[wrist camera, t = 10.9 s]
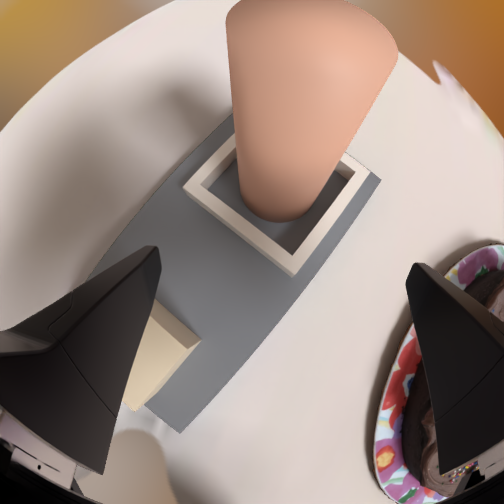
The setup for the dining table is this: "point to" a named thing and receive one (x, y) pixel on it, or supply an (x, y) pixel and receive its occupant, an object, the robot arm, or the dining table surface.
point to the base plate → (222, 273)
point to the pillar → (300, 95)
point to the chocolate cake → (427, 398)
